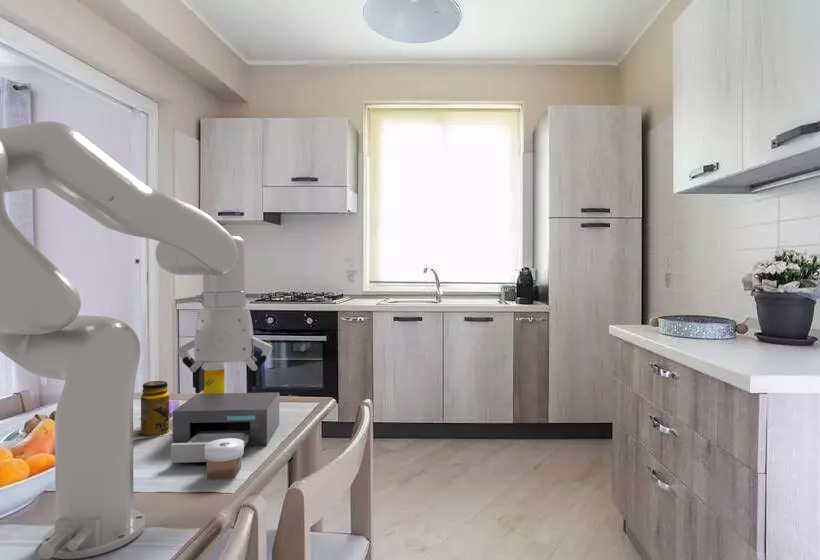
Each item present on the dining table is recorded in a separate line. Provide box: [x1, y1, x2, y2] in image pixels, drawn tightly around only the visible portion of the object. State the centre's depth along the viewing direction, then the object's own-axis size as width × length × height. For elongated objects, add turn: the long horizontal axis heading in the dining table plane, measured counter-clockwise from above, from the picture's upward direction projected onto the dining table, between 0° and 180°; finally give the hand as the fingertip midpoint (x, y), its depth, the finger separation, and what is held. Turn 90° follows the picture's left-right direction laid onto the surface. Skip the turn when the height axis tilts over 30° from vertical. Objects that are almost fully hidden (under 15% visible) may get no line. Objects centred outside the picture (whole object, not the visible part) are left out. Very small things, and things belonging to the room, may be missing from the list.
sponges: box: [169, 400, 180, 418], centre depth 138 cm, size 7×13×2 cm, turn 16°
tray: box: [170, 430, 250, 464], centre depth 107 cm, size 16×12×4 cm
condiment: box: [133, 380, 173, 441], centre depth 119 cm, size 7×8×12 cm
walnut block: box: [206, 456, 242, 480], centre depth 96 cm, size 5×5×4 cm
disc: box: [205, 438, 245, 462], centre depth 95 cm, size 7×7×2 cm
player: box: [172, 392, 280, 447], centre depth 118 cm, size 16×20×8 cm
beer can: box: [201, 362, 227, 394], centre depth 139 cm, size 6×6×15 cm
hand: (226, 390), depth 96 cm, fingers open, 9 cm apart
